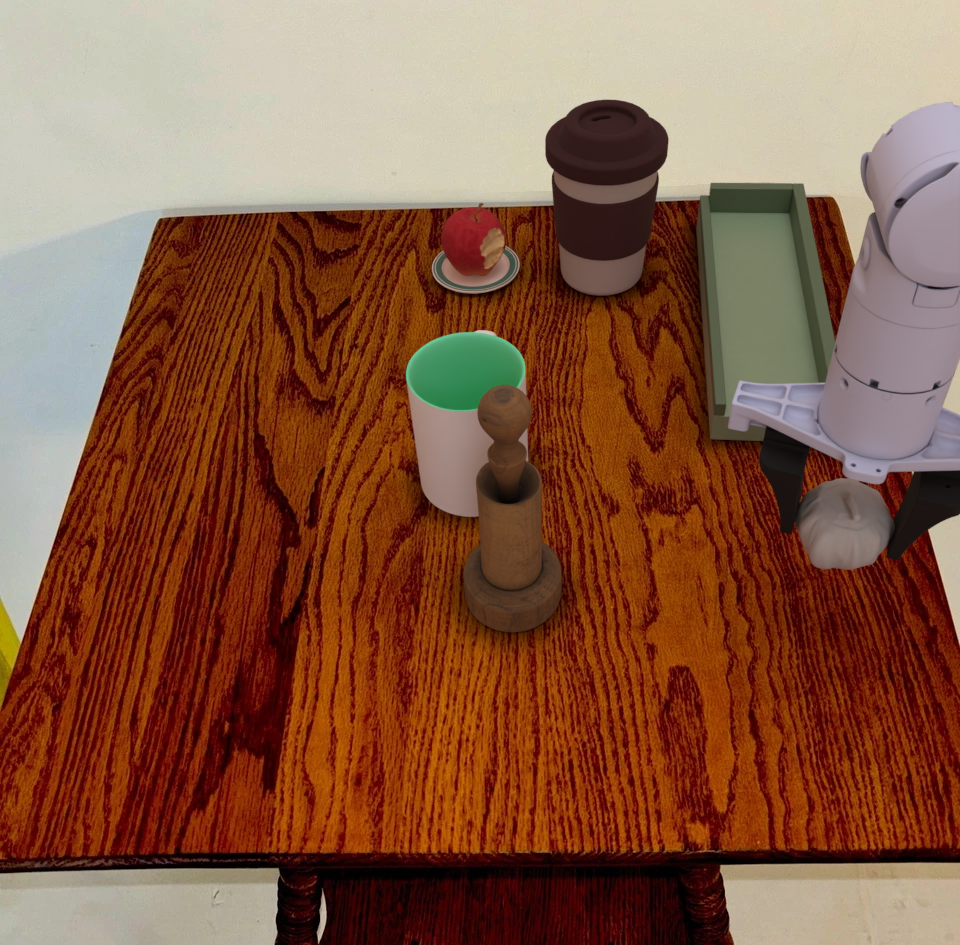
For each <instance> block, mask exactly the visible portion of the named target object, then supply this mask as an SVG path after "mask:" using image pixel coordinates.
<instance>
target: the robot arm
mask: <svg viewBox="0 0 960 945" xmlns="http://www.w3.org/2000/svg"><path fill="white" fill-rule="evenodd" d="M881 134H882V135H880V137H879V138H878V140H877V141H876V143H875V144H874V146H873V147H872V150H871V151H866V152H864V153H862V155H861V158H860V167H859V168H860V169H859V170H860V177H861V181H862V185H863V189H864V191H865V193H866V195H867V198H869V199H870V201H871V203H872V206H873V210H874V212H871V213H870V214H869V215H868V217H867V221H866V225H865V229H864V233H863V237H862V242H861V245H860V249H859V253H858V257H857V259H856V262H855V265H854V267H853V269H852V273H851V278H850V282H849V287H848V290H847V294H846V297H845V303H844V306H843V310H842V314H841V317H840V322H839V326H838V330H837V333H836V337H835V346H834V350H833V354H832V358H831V362H830V366H829V370H828V374H827V378H826V382H825V383H791V384H762V383H752V382H746V381H739V382H738V385H737V388H736V391H735V394H734V397H733V401H732V404H731V410H730V416H729V422H728V428H729V429H733V430H738V431H743V432H745V431H747V430H748V429H749V425H753V426H758V427H762V428H766V430H765V435H764V439H763V441H762V445H761V448H760V451H759V456H758V457H759V458H758V460H759V467H760V471H761V473H762V474H763V475H764V476H765V478H766V479H767V481H768V483H769V485H770V487H771V488H772V489H771V490H772V492H773V493H774V497H775V500H776V503H777V507H778V512H779V523H780V524H779V525H780V526H779V527H780V528H779V531H780V533H783V534H787V535H791V536H792V535H793V531H794V528H795V520H796V515H797V510H798V507H799V504H800V501H801V499H802V492H803V486H804V485H803V484H804V477H805V470H806V465H807V460H808V457H809V452H810V449H811V448H812V449H814V450H817V451H818V452H821V453H823V454H825V455H827V456H829V457H831V458H833V459H835V460H836V461H839V462H841V463H842V468H841V471H842V474H843V476H844V477H845V478H846V479H847V478H850V479H853V480H858V481H859V482H861V483H867V484H871V485H880V484H883V483H884V482H885V481H886V479H887V476H888V473H906V472H908V473H909V472H910V473H912V472H913V473H912V476H911V478H910V482H909V485H908V488H907V490H906V492H905V494H904V497H903V498H902V501H901V503H900V505H899V508H898V510H897V512H896V513H895V516H894V519H893V521H894V523H895V530H894V533H893V535H892V538H891V540H890V541H889V542H888V544H887V548H886V549H887V550H886V556H885V558H886V559H890V560H893V561H894V560H895V561H899V560H900V559H901V557H902V556H903V555H904V553H905V552H906V551H907V550H908V548H909V547H910V546H912V545H913V544H914V543H915V541H916V540H918V539H919V538H920V537H921V536H922V535H923V534H925V533H926V532H927V531H929V530H931V528H934V527H935V526H936V525H938V524H940V523H942V522H944V521H947V520H949V519H951V518H955V517H957V516H959V515H960V414H959V413H956V412H954V411H952V410H949V409H948V408H945V407H944V404H945V401H946V398H947V395H948V393H949V390H950V387H951V384H952V382H953V379H954V376H955V373H956V371H957V369H958V365H959V362H960V105H959V104H954V103H953V101H944V102H938V103H932V104H929V105H925V106H922V107H920V108H918V109H917V108H916V109H915V110H913V111H911V112H909V113H907V114H905V115H904V116H902V117H901V118H899V119H897V120H896V121H895V122H894V123H893V124H891V125H890V128H889V129H888V130H887V131H886V133H881Z"/></svg>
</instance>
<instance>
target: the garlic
mask: <svg viewBox="0 0 960 945" xmlns="http://www.w3.org/2000/svg"><path fill="white" fill-rule="evenodd" d="M883 498H884V497H883V495H881V493H880V491H878V490H877V489H875V488H874V487H873V488H872V487H870V486H869V485H867V484H864V482H861V481H858V480H853V479H850V478H847V477H846V478H842V477H840V478H835V479H833V480H825V481H823V482H822V483H820V484H818V485H817V486H815V487H813V488H811V489H810V490H808V491H807V492H805V494H804V495H803V496H802V497H801V499H800V503H799V507H798V510H797V515H796V520H795V524H794V526H795V529H796V530H797V533H798V536H799V540H800V542H801V544H802V546H803V549H804V550H805V553H806V555H807V556H808V559H809V561H810V563H811V564H812V566H814V567H815V568H817V569H821V570H830V569H841V570H845V571H852V570H856V569H859V568H862V567H866V566H871V565H873V564H874V563H875V562H876V560H877V559H878V557H879V555H880V554H882V553H883V552H884V550H885V549H887V547H888V542H889V541H890V540H891V538H892V535H893V533H894V530H895V523H894V519H893V517H892V516H891V513H890V510H889V507H888V506H887V504H886V503H885V500H884V499H883Z"/></svg>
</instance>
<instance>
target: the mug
mask: <svg viewBox="0 0 960 945" xmlns="http://www.w3.org/2000/svg"><path fill="white" fill-rule="evenodd" d="M526 370H527V369H526V361H525V359H524V357H523V354H522V353H521V352H520V351H519V350H518V348H517V347H516V346H514V345H513V343H511V342H509V341H508V340H506V339H504V338H502V337H499V336H498V335H497V334H496V333H495V331H494V332H493V331H491V330H484V329H478V330H474V331H464V332H455V333H450V334H446V335H442V336H440V337H437V338H435V339H433V340H431V341H429V342H427V343H425V344H424V345H423V346H421V347H420V348H419V349H417V351H416V352H414V353H413V355H412V356H411V357H410V360H409V361H408V363H407V365H406V370H405V380H406V386H407V394H408V401H409V408H410V416H411V422H412V429H413V436H414V444H415V451H416V458H417V466H418V472H419V479H420V485H421V489H422V492H423V494H424V496H425V497H426V499H427V500H428V501H429V502H430V503H431V504H432V505H433V506H435V507H436V508H438V509H439V510H441V511H443V512H445V513H448V514H451V515H454V516H458V517H466V518H476V517H478V518H479V513H478V500H477V490H476V477H477V474H478V472H479V470H480V469H481V468H482V467H483V466H484V465H485V464H486V463H488V462H489V460H488V456H487V452H488V449H489V447H490V446H491V445H492V444H493V443H494V440H493V439H492V438H491V437H490V436H489V435H488V434H487V433H486V432H485V431H484V430H483V429H482V427H481V425H480V423H479V420H478V405H479V402H480V400H481V398H482V397H483V395H484V394H485V393H486V392H487V391H488V390H490V389H491V388H493V387H496V386H500V385H510V386H514V387H516V388H518V389H520V390H521V391H522V392H523V393H524V394H525V395H526V396H527V373H526V372H527V371H526ZM528 437H529V436H528V428H527V429H526V430H525V432H524V433H523V434H522V436H521V437H520V438H519V442H521V443H522V444H523V445H524V446H525V447H526V450H527V457H526V461H527V462H529V442H528V441H529V440H528V439H529V438H528Z"/></svg>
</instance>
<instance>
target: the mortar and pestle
mask: <svg viewBox="0 0 960 945" xmlns="http://www.w3.org/2000/svg"><path fill="white" fill-rule="evenodd" d="M532 418H533V409H532V405H531V402H530V399H529V398H528V396H527V394H526V395H525V394H524V393H523V392H522V391H521V390H520V389H518V388H516V387H514V386H510V385H500V386H496V387H493V388H491V389H490V390H488V391H487V392H486V393H485V394H484V395H483V397H482V398H481V400H480V402H479V405H478V420H479V423H480V425H481V427H482V429H483V430H484V431H485V432H486V433H487V434H488V435H489V436H490V437H491V438H492V439H493V440H494V443H493V444H492V445H491V446H490V447H489V449H488V452H487V456H488V460H489V462H488V463H486V464H485V465H484V466H483V467H482V468H481V469H480V470H479V472H478V474H477V477H476V490H477V500H478V513H479V516H478V525H479V526H478V527H479V541H480V542H479V545H477V546H476V547H475V548H474V549H473V550H472V551H471V552H470V554H469V556H468V557H467V559H466V561H465V564H464V568H463V588H464V598H465V602H466V606H467V607H468V610H469V611H470V613H471V614H472V616H473V617H474V618H475V619H476V620H477V621H478V622H480V623H481V624H482V625H484V626H486V627H487V628H490V629H492V630H496V631H498V632H504V633H521V632H522V633H523V632H527V631H530V630H533V629H535V628H537V627H538V626H539V627H540V625H542V624H543V623H545V622H546V621H547V620H548V619H549V618H551V616H552V615H554V613H555V612H556V610H557V608H558V607H559V604H560V601H561V597H562V589H563V588H562V587H563V586H562V585H563V582H562V581H563V580H562V579H563V576H562V574H563V572H562V564H561V562H560V560H559V557H558V556H557V554H556V552H555V551H554V550H553V549H552V548H551V547H550V546H549V545H548V544H547V543H546V542H544V541H543V539H542V537H543V536H542V535H543V534H542V532H543V530H542V529H543V528H542V526H543V525H542V524H543V523H542V522H543V520H542V519H543V516H542V515H543V514H542V513H543V511H542V510H543V509H542V508H543V506H542V505H543V500H542V499H543V496H542V495H543V481H542V475H541V473H540V471H539V470H538V469H537V468H536V466H535V465H534V464H533V463H531V462H529V461H528V462H527V461H526V457H527V450H526V447H525V446H524V445H523V444H522V443H521V442H519V438H520V437H521V436H522V434H523V433H524V432H525V430H526V429H527V430H528V427H529V426H530V423H531V421H532Z"/></svg>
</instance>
